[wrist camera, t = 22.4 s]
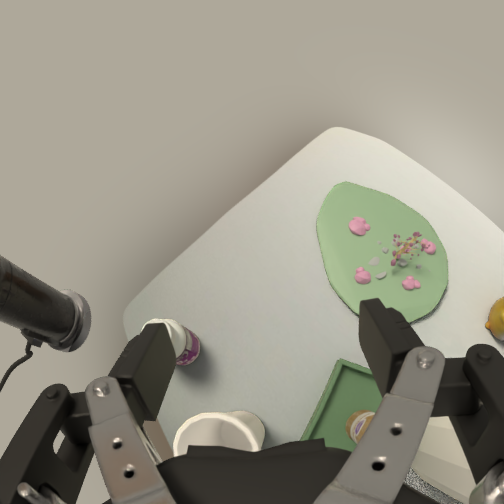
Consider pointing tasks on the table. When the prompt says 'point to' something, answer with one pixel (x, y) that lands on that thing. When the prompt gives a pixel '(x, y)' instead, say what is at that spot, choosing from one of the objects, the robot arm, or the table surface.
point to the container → (444, 460)
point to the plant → (380, 251)
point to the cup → (220, 432)
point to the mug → (497, 319)
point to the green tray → (342, 404)
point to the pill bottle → (181, 341)
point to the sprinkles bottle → (358, 424)
